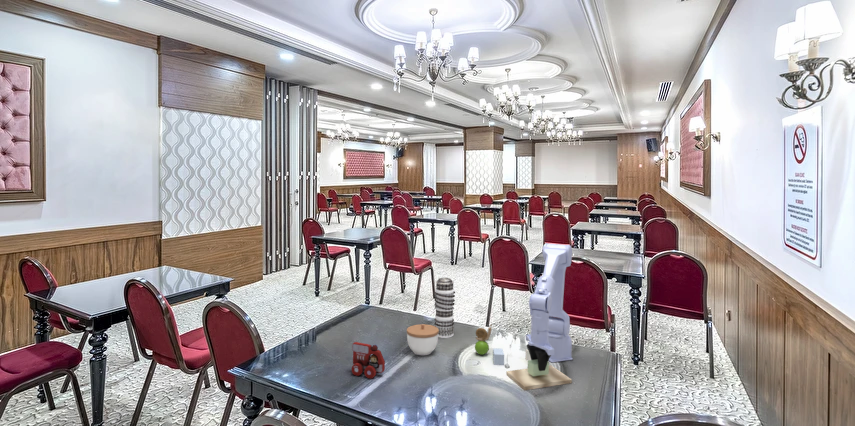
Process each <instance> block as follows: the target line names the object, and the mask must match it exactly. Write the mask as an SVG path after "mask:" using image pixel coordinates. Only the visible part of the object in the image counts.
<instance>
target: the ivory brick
mask: <svg viewBox="0 0 855 426" xmlns="http://www.w3.org/2000/svg"><path fill="white" fill-rule="evenodd" d="M524 357H525V359H526V361H527V360H528V361H529V360H531V357H530V353H529V351H528V349H525V356H524ZM528 361H527V362H528Z"/></svg>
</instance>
